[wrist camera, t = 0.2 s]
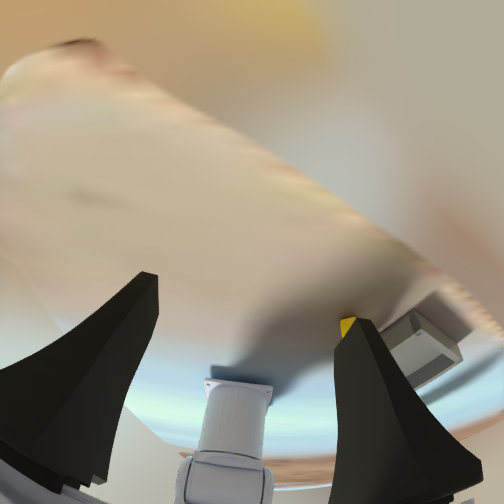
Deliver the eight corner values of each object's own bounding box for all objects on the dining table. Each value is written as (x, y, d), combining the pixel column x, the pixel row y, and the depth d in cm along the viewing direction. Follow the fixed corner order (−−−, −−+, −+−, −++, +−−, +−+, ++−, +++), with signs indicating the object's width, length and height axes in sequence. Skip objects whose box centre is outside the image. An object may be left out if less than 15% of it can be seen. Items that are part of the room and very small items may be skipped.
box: (457, 343, 27) (463, 360, 24) (389, 386, 32) (392, 403, 30) (413, 308, 24) (421, 328, 22) (335, 363, 29) (336, 382, 27)
